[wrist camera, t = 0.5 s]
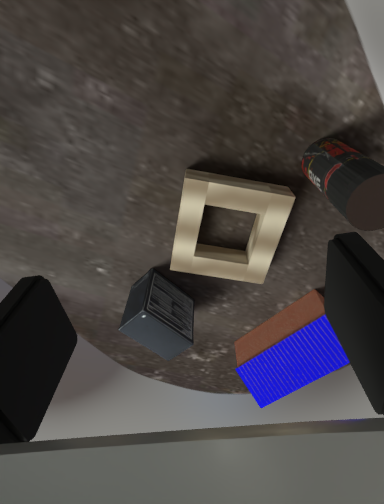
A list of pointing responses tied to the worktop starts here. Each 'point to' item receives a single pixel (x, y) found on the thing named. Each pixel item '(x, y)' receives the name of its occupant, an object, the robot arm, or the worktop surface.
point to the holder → (238, 198)
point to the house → (289, 350)
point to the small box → (159, 316)
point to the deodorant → (347, 181)
